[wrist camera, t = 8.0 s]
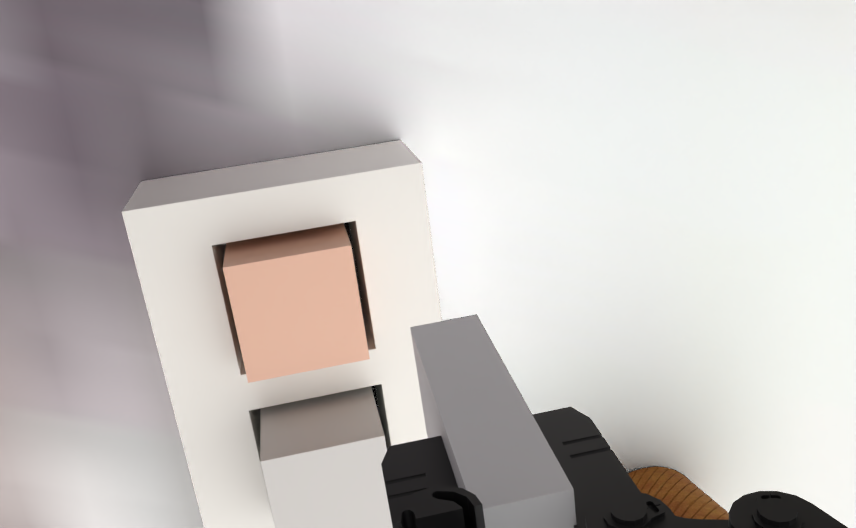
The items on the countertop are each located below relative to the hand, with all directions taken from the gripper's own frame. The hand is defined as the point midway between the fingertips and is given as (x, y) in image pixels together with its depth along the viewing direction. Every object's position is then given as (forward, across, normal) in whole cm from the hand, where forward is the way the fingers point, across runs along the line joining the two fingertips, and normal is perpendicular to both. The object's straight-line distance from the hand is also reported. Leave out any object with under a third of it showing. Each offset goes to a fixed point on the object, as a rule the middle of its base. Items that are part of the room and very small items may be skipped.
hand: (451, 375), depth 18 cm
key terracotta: (+18, -4, -3) cm, 19 cm away
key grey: (+16, -4, -10) cm, 19 cm away
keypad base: (+19, -4, -10) cm, 21 cm away
